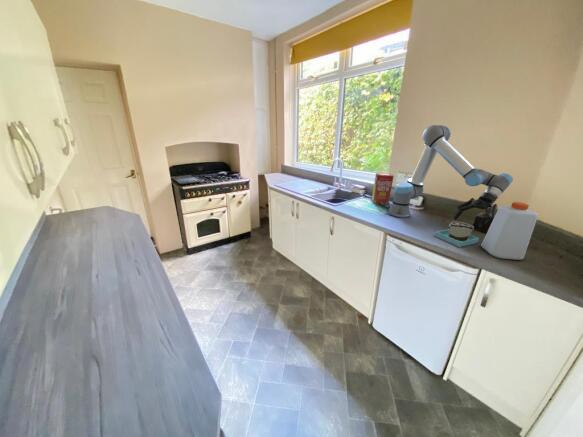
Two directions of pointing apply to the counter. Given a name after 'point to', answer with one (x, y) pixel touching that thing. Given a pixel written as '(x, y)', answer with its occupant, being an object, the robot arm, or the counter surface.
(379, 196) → the food packaging
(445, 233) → the tray
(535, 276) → the counter surface
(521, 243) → the plastic bottle
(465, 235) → the food container
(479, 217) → the pepper mill
